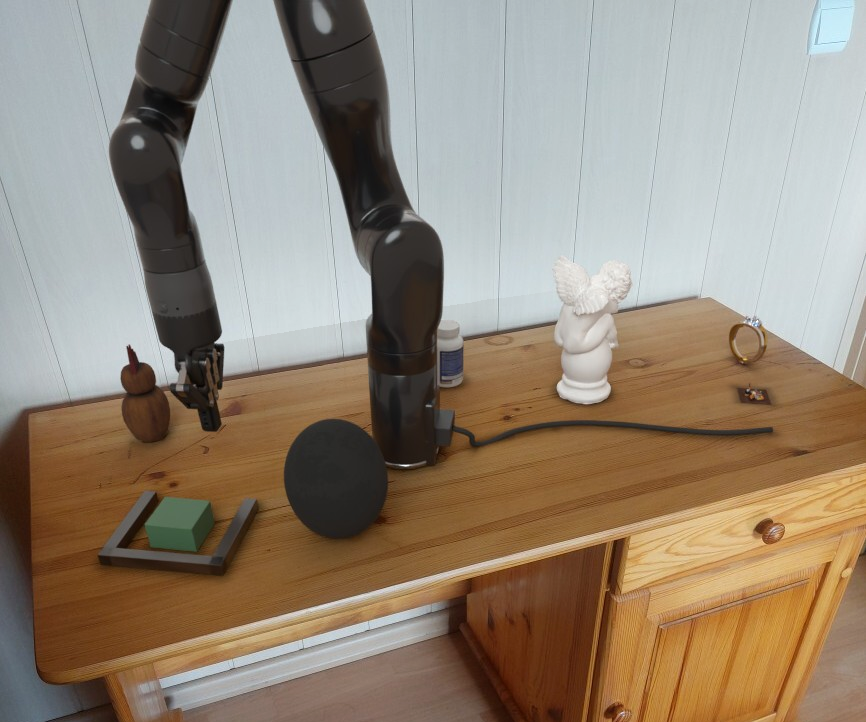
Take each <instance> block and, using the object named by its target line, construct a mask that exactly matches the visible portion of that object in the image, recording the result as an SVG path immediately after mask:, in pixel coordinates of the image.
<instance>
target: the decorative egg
mask: <svg viewBox="0 0 866 722" xmlns="http://www.w3.org/2000/svg"><path fill="white" fill-rule="evenodd" d="M283 484H284V485H283V486H284V491H285V494H286V498H287V501H288V503H289V506H290V508H291V509H292V511H293V513H294V514H295V516H296V517H297V519H298V520H299V521H300V522H301V523H302V525H304V526H305V527H306V528H307V529H309V530H310V531H312V533H313V532H314V533H315V534H317V535H319V536H321V537H324V538H326V539H327V538H328V539H331V540H344V539H349V538H350V539H351V538H354V537H356V536H358V535H360V534H362V533H364V532H365V531H366V530H368V529H369V528H370V527H371V526H372V525H373V524H374V523H375V522H376V521H377V519H378V518H379V516H380V514H381V513H382V511H383V509H384V506H385V503H386V500H387V496H388V489H389V473H388V467H386V463H385V460H384V457H383V454H382V452H381V450H380V448H379V447H378V445H377V443H376V442H375V441H374V439H373V438H372V435H371V434H370V433H368V432H367V431H366V430H365V429H364V428H362V427H361V426H360V425H358V424H356V423H354V422H352V421H349V420H346V419H341V418H326V419H321V420H318V421H316V422H313V423H312V424H309V425H308V426H307V427H305V428H304V429H302V431H300V433H299V434H297V436H296V437H295V438H294V440H293V442H292V443H291V444H290V447H289V449H288V452H287V454H286V458H285V461H284V467H283Z"/></svg>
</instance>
